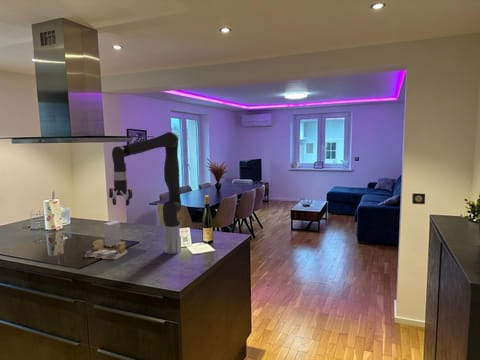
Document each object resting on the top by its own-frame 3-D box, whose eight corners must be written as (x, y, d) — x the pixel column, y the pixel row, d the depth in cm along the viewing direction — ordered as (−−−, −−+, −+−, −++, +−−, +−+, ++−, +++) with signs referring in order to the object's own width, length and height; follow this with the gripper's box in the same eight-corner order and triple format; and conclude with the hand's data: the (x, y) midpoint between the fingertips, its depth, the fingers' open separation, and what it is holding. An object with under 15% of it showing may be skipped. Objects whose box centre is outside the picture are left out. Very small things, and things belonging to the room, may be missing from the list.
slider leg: (103, 249, 197) (103, 239, 197) (95, 253, 189) (94, 243, 189) (99, 248, 198) (98, 239, 197) (90, 253, 190) (90, 243, 189)
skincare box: (114, 242, 217) (114, 220, 215) (121, 244, 213) (120, 221, 212) (104, 245, 209) (103, 223, 208) (110, 247, 206) (109, 224, 204)
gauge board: (127, 252, 197) (126, 240, 196) (115, 259, 184) (115, 247, 184) (98, 250, 201) (97, 238, 200) (84, 257, 188) (84, 245, 187)
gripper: (134, 178, 195) (134, 204, 196) (113, 178, 197) (113, 203, 199) (127, 180, 187) (128, 206, 189) (106, 179, 190) (106, 205, 191)
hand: (121, 205), depth 194 cm, fingers open, 8 cm apart
